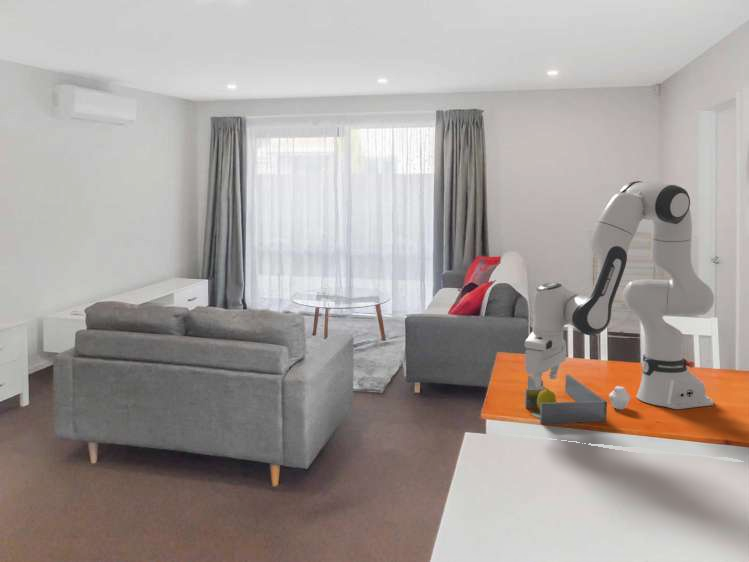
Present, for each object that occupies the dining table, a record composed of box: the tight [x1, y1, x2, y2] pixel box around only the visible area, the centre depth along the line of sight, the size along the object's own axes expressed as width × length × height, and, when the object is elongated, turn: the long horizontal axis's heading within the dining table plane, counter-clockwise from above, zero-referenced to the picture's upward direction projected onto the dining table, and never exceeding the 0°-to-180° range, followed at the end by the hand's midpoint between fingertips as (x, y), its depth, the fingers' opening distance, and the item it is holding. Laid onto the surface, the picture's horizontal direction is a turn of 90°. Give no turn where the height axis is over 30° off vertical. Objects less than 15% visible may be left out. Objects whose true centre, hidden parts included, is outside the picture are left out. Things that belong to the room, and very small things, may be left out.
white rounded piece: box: [608, 385, 631, 410], centre depth 189 cm, size 6×6×7 cm
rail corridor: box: [524, 374, 608, 425], centre depth 190 cm, size 20×28×6 cm
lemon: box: [537, 387, 557, 410], centre depth 182 cm, size 6×6×8 cm
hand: (546, 382), depth 183 cm, fingers open, 8 cm apart
